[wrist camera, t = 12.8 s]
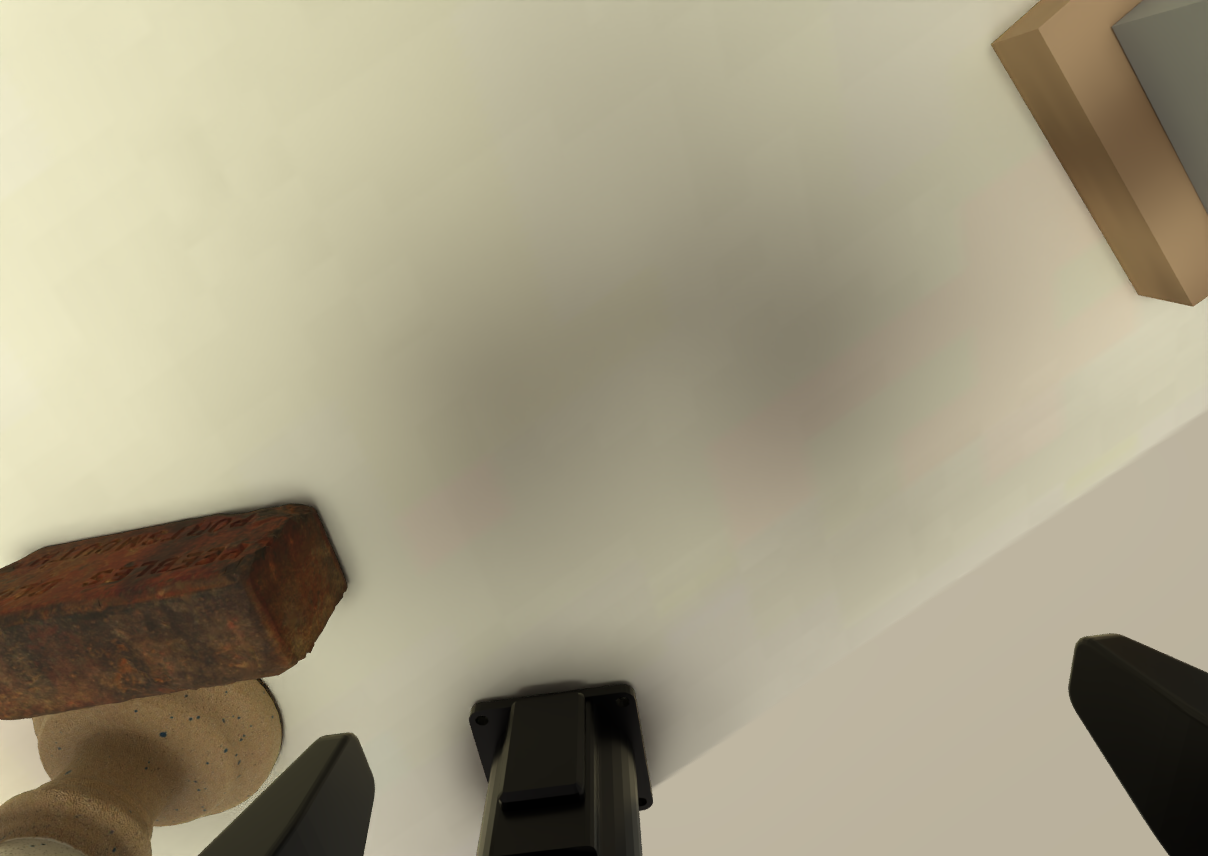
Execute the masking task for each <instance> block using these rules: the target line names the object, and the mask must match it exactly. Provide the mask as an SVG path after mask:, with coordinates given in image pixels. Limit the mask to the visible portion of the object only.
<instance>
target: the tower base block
mask: <svg viewBox="0 0 1208 856" xmlns="http://www.w3.org/2000/svg"><path fill="white" fill-rule="evenodd" d="M1142 1H1143V0H1041V1H1039V2H1038V3H1037V4H1036V5H1035V6H1034V7H1033V8H1032V9H1030V10H1029V11H1028V12H1027V13H1026V14H1025V15H1024V16H1023V17H1021V18H1020V19H1019V20H1018V21H1017V22H1016V23H1015V24H1013V25H1012V26H1011V27H1010V28H1009V29H1008V30H1007V31H1006V32H1004V33H1003V34H1002V35H1001V36H1000V37H999V38H998V39H997V40H995V41H994V42H993V43H992V44H991V45H992V47H993V49H994V50H995V52H996V54H997V56H998V57H999V59H1000V61H1001V62H1002V64H1003V66H1004V67H1005V69H1006V71H1007V73H1008V74H1009V76H1010V78H1011V79H1012V81H1013V83H1014V84H1015V86H1016V88H1017V89H1018V91H1019V93H1020V95H1021V96H1022V98H1023V100H1024V101H1025V103H1026V105H1027V106H1028V108H1029V110H1030V112H1031V113H1032V115H1033V117H1034V118H1035V120H1036V122H1037V123H1038V125H1039V127H1040V129H1041V130H1042V132H1043V134H1044V135H1045V137H1046V139H1047V140H1048V142H1049V144H1050V146H1051V147H1052V149H1053V151H1054V152H1055V154H1056V156H1057V157H1058V159H1059V161H1060V162H1061V164H1062V166H1063V168H1064V169H1065V171H1066V173H1067V174H1068V176H1069V178H1070V179H1071V181H1072V183H1073V185H1074V186H1075V188H1076V190H1077V191H1078V193H1079V195H1080V196H1081V198H1082V200H1083V202H1084V203H1085V205H1086V207H1087V208H1088V210H1089V212H1090V213H1091V215H1092V217H1093V219H1094V220H1095V222H1096V224H1097V225H1098V227H1099V229H1100V230H1101V232H1102V234H1103V236H1104V237H1105V239H1106V241H1107V242H1108V244H1109V246H1110V247H1111V249H1112V251H1113V252H1114V254H1115V256H1116V258H1117V259H1118V261H1119V263H1120V264H1121V266H1122V268H1123V269H1124V271H1125V273H1126V275H1127V276H1128V278H1129V280H1130V281H1131V283H1132V285H1133V286H1134V288H1135V290H1136V292H1137V293H1138V295H1142V296H1146V297H1151V298H1156V299H1160V300H1165V301H1170V302H1174V303H1179V304H1184V305H1188V306H1195V305H1196V304H1198V303H1199V302H1200V301H1202V300H1203V299H1205V298H1206V297H1207V296H1208V214H1207V212H1206V210H1205V208H1204V206H1203V204H1202V202H1201V200H1200V198H1199V196H1198V194H1197V192H1196V190H1195V188H1194V186H1193V184H1192V182H1191V180H1190V179H1189V177H1188V175H1187V173H1186V171H1185V169H1184V167H1183V165H1182V163H1181V161H1180V159H1179V157H1178V155H1177V153H1176V151H1175V149H1174V147H1173V145H1172V143H1171V142H1170V140H1169V138H1168V136H1167V134H1166V132H1165V130H1164V128H1163V126H1162V124H1161V122H1160V120H1159V118H1158V116H1157V114H1156V112H1155V110H1154V108H1153V106H1152V104H1151V103H1150V101H1149V99H1148V97H1147V95H1146V93H1145V91H1144V89H1143V87H1142V85H1141V83H1140V81H1139V79H1138V77H1137V75H1136V73H1135V71H1134V69H1133V67H1132V65H1131V64H1130V62H1129V60H1128V58H1127V56H1126V54H1125V52H1124V50H1123V48H1122V46H1121V44H1120V42H1119V40H1118V38H1117V36H1116V34H1115V32H1114V30H1113V28H1112V26H1113V25H1115V24H1116V23H1117V22H1118V21H1119V20H1120V19H1122V18H1123V17H1124V16H1125V15H1126V14H1127V13H1129V12H1130V11H1131V10H1132V9H1133V8H1134V7H1136V6H1137V5H1138V4H1139V3H1140V2H1142Z"/></svg>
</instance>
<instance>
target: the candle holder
mask: <svg viewBox="0 0 1208 856" xmlns="http://www.w3.org/2000/svg"><path fill="white" fill-rule="evenodd" d="M32 719H33V724H34V729H35V733H36V736H37V738H38V749H39V754H40V759H41V762H42V764H43V766H44V769H45V771H46V772H47V774H48V775H49V777H50V778H51V780H52V781H50V782H47V783H45V784H43V785H41V786H40V787H38V788H37V789H34V790H31V791H27V792H24V793H21V794H19V795H16V796H14V797H12V798H11V799H9V800H8V801H6V802H5V803H4V804H3V805H1V806H0V856H152V850H151V842H150V840H151V837H152V831H153V826H171V825H177V824H182V823H186V822H189V821H192V820H195V819H197V818H200V817H204V816H208V815H212V814H217V813H220V812H223V811H225V810H228V809H231V808H233V807H235V806H237V805H239V804H240V803H242V802H244V801H246V800H247V799H248V798H249V797H251V796H252V795H253V794H254V793H255V792H257V790H258V789H259V788H260V787H261V785H262V784H263V783H264V782H265V780H266V779H267V777H268V776H269V774H270V772H271V770H272V768H273V766H274V764H275V762H276V760H277V757H278V755H279V751H280V746H281V724H280V719H279V714H278V712H277V710H276V707H275V705H274V703H273V701H272V699H271V698H270V696H269V695H268V693H267V691H266V690H265V688H264V687H263V686H262V685H261V684H260V683H259V682H258V681H257V679H254V680H247V681H240V682H235V683H233V684H229V685H225V686H215V687H208V688H200V689H198V690H190V689H189V690H185V691H180V692H175V693H170V694H164V695H158V696H151V697H145V698H137V699H132V700H129V701H126V702H122V703H116V704H105V705H99V706H95V707H91V708H87V709H81V710H74V711H67V712H63V713H58V714H51V715H44V716H39V717H34V718H32Z"/></svg>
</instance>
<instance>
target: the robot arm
mask: <svg viewBox="0 0 1208 856" xmlns="http://www.w3.org/2000/svg"><path fill="white" fill-rule="evenodd" d="M1068 690H1069V697H1070V700H1071V703H1072V705H1073V707H1074V709H1075V711H1076V713H1077V714H1078V716H1079V718H1080V719H1081V721H1082V722H1083V724H1084V725H1085V727H1086V729H1087V730H1088V731H1089V733H1090V735H1091V737H1092V738H1093V740H1094V741H1095V743H1096V744H1097V746H1098V747H1099V749H1100V751H1101V752H1102V754H1103V755H1104V757H1105V759H1106V760H1107V762H1108V763H1109V765H1110V766H1111V768H1112V770H1113V771H1114V773H1115V774H1116V776H1117V778H1118V779H1119V781H1120V782H1121V784H1122V786H1123V787H1124V789H1125V790H1126V792H1127V793H1128V795H1129V797H1130V798H1131V800H1132V801H1133V803H1134V804H1135V806H1136V808H1137V809H1138V811H1139V812H1140V814H1141V815H1142V817H1143V819H1144V820H1145V821H1146V823H1147V825H1148V826H1149V828H1150V829H1151V831H1152V832H1153V834H1154V835H1155V836H1156V838H1157V839H1158V841H1159V842H1160V844H1161V845H1162V846H1163V848H1164V849H1165V850H1166V852H1167V853H1168V855H1169V856H1208V673H1207V672H1204V671H1203V670H1200V669H1198V668H1196V667H1193V666H1191V665H1189V664H1187V663H1184V662H1182V661H1180V660H1178V659H1175V658H1173V657H1171V656H1168V655H1166V654H1164V653H1161V652H1159V651H1157V650H1155V649H1153V648H1150V647H1148V646H1146V645H1144V644H1141V643H1139V642H1137V641H1134V640H1132V639H1130V638H1127V637H1125V636H1122V635H1120V634H1111V633H1109V634H1102V635H1094V636H1086V637H1083V638H1080V639H1079V641H1078V642H1077V643H1076V645H1075V649H1074V655H1073V662H1072V667H1071V674H1070V679H1069V686H1068ZM621 697H625V699H619V698H621ZM481 716H485V717H481ZM469 723H470V726H471V729H472V733H473V736H474V739H475V742H476V746H477V749H478V752H479V755H480V759H481V762H482V765H483V768H484V772H485V775H486V778H487V781H488V790H487V796H486V802H485V807H484V813H483V819H482V825H481V831H480V837H479V843H478V849H477V855H476V856H642V846H641V845H642V844H641V831H640V818H639V811H641V810H646V809H648V808H649V807H651V805H652V804H653V797H652V789H651V783H650V777H649V771H648V766H647V760H646V754H645V748H644V742H643V737H642V731H641V725H640V719H639V713H638V708H637V702H636V696H635V692H634V689H633V688H632V687H630V686H628V685H624V684H620V685H612V686H605V687H597V688H589V689H582V690H574V691H567V692H559V693H551V694H544V695H536V696H529V697H521V698H513V699H506V700H498V701H490V702H483V703H478V704H476V705H474V706H473V707H472V709H471V712H470V717H469ZM374 793H375V784H374V778H373V774H372V772H371V769H370V767H369V764H368V762H367V759H366V757H365V754H364V752H363V749H362V747H361V745H360V742H359V740H358V738H357V736H355V735H354V734H353V733H349V732H348V733H340V734H333V735H325V736H322V737H320V738H319V739H317V740H316V741H315V742H314V743H313V744H312V745H311V746H310V747H309V748H308V749H306V750H305V751H304V752H303V753H302V754H301V755H300V756H299V757H298V758H297V759H296V760H295V761H294V762H293V763H292V764H291V765H290V766H289V767H288V768H287V769H286V770H285V771H284V772H283V773H282V774H281V775H280V776H279V777H278V778H277V779H276V780H275V781H274V782H273V783H272V784H271V785H270V786H269V787H268V788H267V789H266V790H265V791H263V792H262V793H261V794H260V795H259V796H258V797H257V798H256V799H255V800H254V801H253V802H252V803H251V804H250V805H249V806H248V807H247V808H246V809H245V810H244V811H243V812H242V813H241V814H240V815H239V816H238V817H237V818H236V819H235V820H234V821H233V822H232V823H231V824H230V825H229V826H228V827H227V828H226V829H225V830H224V831H223V832H222V833H220V834H219V835H218V836H217V837H216V838H215V839H214V840H213V841H212V842H211V843H210V844H209V845H208V846H207V847H206V848H205V849H204V850H203V851H202V852H201V853H200V854H199V855H198V856H363V855H364V849H365V844H366V839H367V833H368V828H369V822H370V817H371V812H372V806H373V801H374Z"/></svg>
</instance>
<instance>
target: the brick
mask: <svg viewBox="0 0 1208 856" xmlns="http://www.w3.org/2000/svg"><path fill="white" fill-rule="evenodd" d="M346 590H347V583H346V580H345V578H344V576H343V573H342V571H341V568H340V565H339V563H338V560H337V558H336V555H335V553H334V551H333V548H332V546H331V544H330V542H329V540H328V537H327V535H326V532H325V530H324V528H323V525H322V523H321V521H320V519H319V516H318V514H317V512H316V510H315V508H313V507H309V506H305V505H301V504H287V505H282V506H280V507H277V506H275V507H271V508H265V509H259V510H255V511H252V512H249V513H239V514H216V515H211V516H206V517H201V518H196V519H188V520H184V521H180V522H173V523H168V524H164V525H159V526H154V527H148V528H143V529H138V530H133V531H128V532H124V533H119V534H113V535H107V536H102V537H96V538H90V539H86V540H81V541H76V542H71V543H65V544H60V545H55V546H50V547H44V548H41V549H39V550H37V551H35V552H33V553H31V554H29V555H28V556H26V557H24V558H22V559H20V560H18V561H16V562H14V563H12V564H10V565H7V566H5V567H3V568H1V569H0V719H1V720H17V719H24V718H34V717H39V716H44V715H51V714H58V713H63V712H67V711H74V710H81V709H87V708H91V707H95V706H99V705H105V704H116V703H122V702H126V701H129V700H132V699H137V698H145V697H151V696H158V695H164V694H170V693H175V692H180V691H185V690H189V689H190V690H198V689H200V688H208V687H215V686H225V685H229V684H233V683H235V682H240V681H247V680H254V679H259V678H264V677H270V676H276V675H280V674H282V673H283V672H285V671H286V670H288V669H289V668H291V667H293V666H294V665H296V664H297V663H298V661H299V660H302V659H304V658H305V657H306V653H311V651H312V649H313V647H314V642H316V640H317V639H318V637H319V635H320V634H321V633H322V631H323V629H324V627H325V626H326V624H327V622H328V620H329V618H330V616H331V614H332V613H333V611H334V610H335V606H336V605H337V604H338V603H339V601H340V600H341V599H342V597H343V593H344V592H346Z"/></svg>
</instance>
